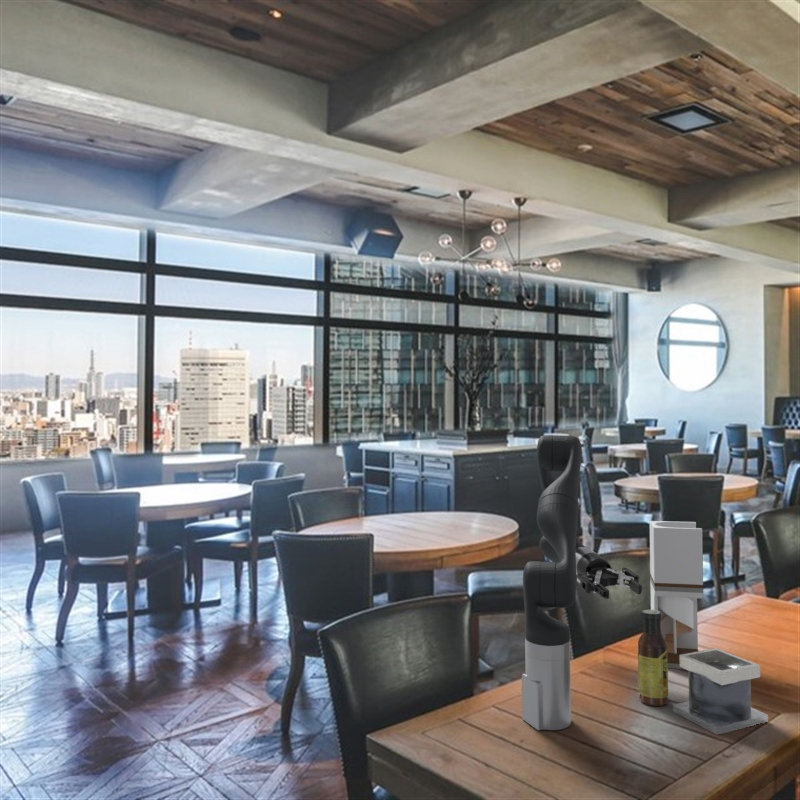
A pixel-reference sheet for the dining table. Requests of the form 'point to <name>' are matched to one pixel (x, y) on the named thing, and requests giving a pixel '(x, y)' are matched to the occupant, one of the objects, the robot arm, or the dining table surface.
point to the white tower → (676, 584)
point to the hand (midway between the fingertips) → (624, 592)
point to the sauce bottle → (652, 661)
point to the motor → (719, 691)
